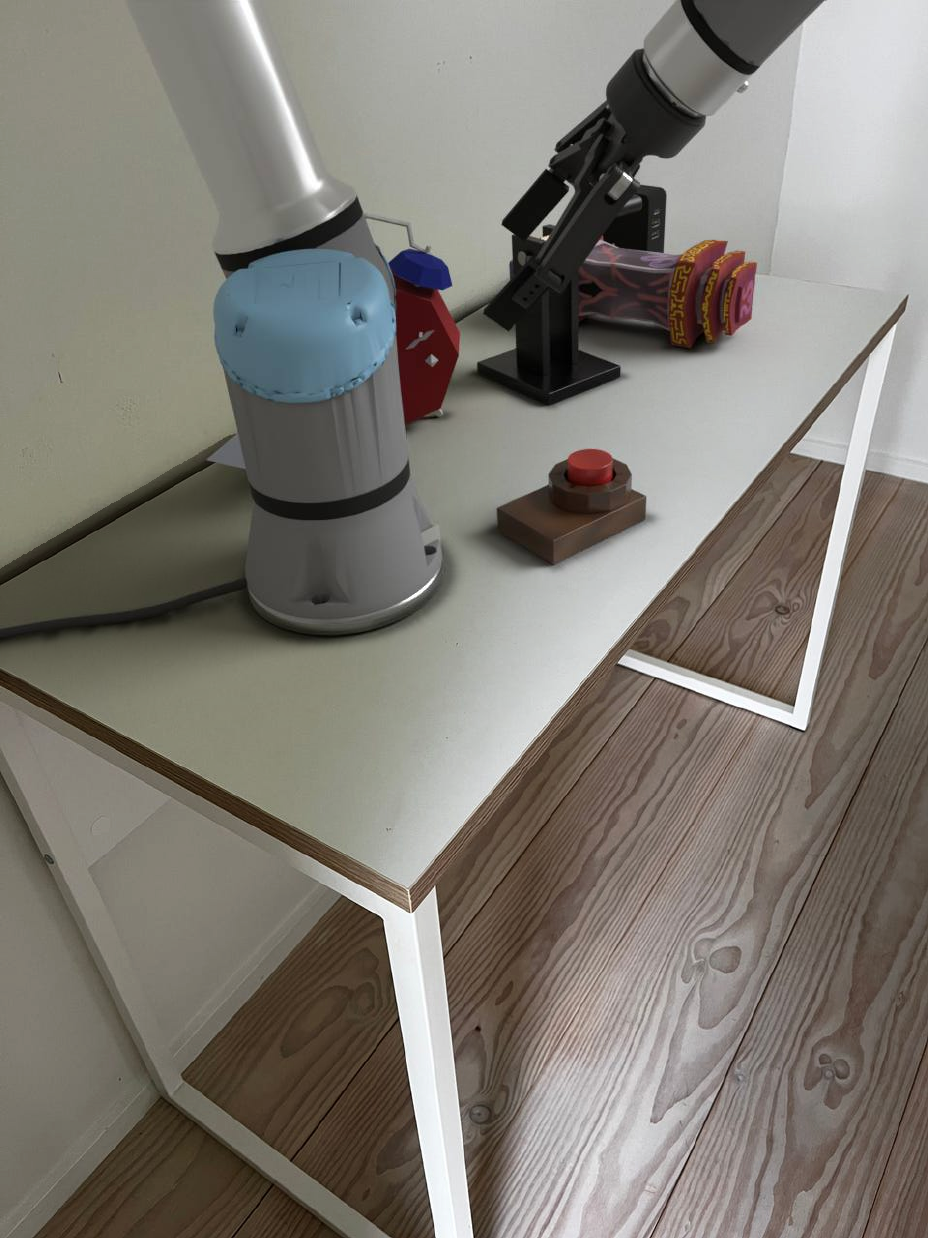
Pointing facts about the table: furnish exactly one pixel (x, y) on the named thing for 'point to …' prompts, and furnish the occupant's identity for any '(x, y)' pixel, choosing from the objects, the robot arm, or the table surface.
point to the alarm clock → (422, 328)
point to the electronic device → (641, 223)
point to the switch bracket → (548, 343)
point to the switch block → (572, 513)
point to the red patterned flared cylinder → (669, 289)
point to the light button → (590, 467)
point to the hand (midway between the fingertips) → (504, 273)
